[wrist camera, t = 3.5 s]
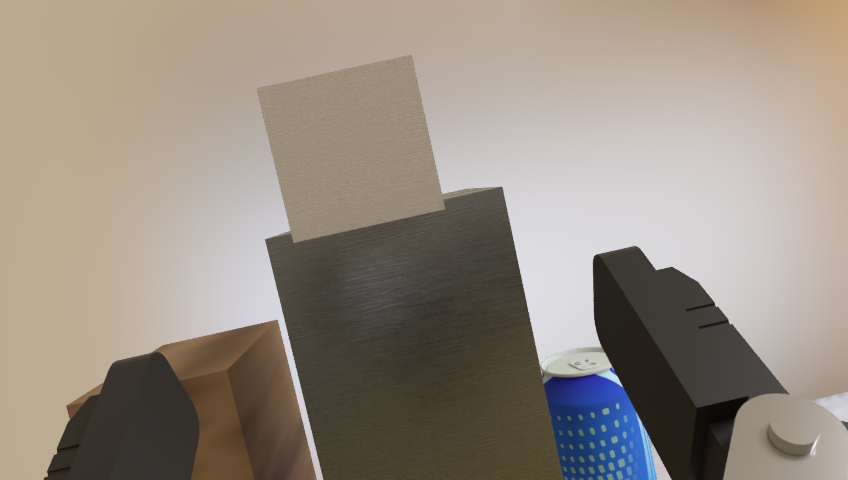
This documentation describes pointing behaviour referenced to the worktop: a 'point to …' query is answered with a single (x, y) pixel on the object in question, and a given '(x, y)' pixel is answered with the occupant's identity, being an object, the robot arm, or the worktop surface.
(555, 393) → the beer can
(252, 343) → the block
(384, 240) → the tall dark grey pillar
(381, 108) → the lever
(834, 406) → the worktop surface
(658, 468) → the worktop surface
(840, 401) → the worktop surface
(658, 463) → the worktop surface
